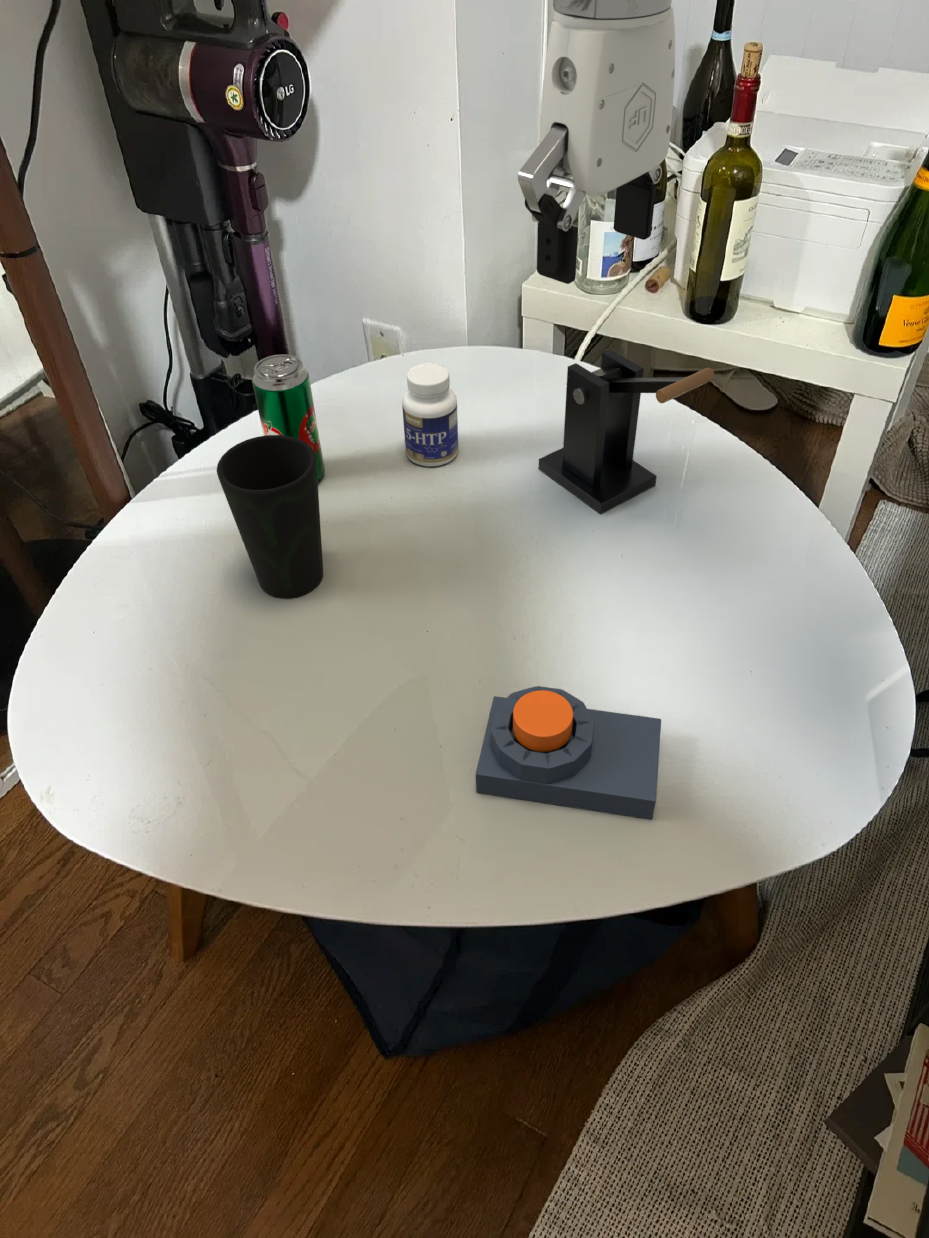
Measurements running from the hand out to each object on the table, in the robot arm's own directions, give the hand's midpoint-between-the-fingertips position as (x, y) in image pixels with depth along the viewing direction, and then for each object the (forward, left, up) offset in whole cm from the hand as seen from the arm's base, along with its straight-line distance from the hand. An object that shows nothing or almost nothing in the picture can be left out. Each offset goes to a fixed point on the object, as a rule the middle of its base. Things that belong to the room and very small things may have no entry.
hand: (595, 255), depth 70 cm
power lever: (-5, 0, -12) cm, 13 cm away
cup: (+23, +15, -23) cm, 36 cm away
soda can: (+27, +1, -23) cm, 36 cm away
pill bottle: (+15, -5, -23) cm, 28 cm away
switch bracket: (-1, -3, -23) cm, 23 cm away
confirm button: (-1, +31, -19) cm, 36 cm away
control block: (-3, +31, -23) cm, 39 cm away
